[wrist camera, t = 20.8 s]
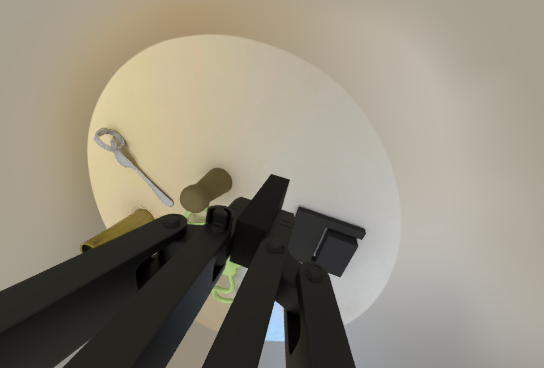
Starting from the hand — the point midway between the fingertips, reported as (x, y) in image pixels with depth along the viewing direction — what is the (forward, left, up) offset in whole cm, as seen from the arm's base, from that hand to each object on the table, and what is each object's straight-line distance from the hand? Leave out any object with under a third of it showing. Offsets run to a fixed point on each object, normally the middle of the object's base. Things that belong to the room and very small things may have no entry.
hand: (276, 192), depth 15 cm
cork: (+15, +14, -24) cm, 31 cm away
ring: (+41, +12, -24) cm, 49 cm away
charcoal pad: (-14, +20, -23) cm, 33 cm away
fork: (+35, +19, -24) cm, 46 cm away
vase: (+35, +33, -24) cm, 53 cm away
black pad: (-10, +20, -23) cm, 32 cm away
